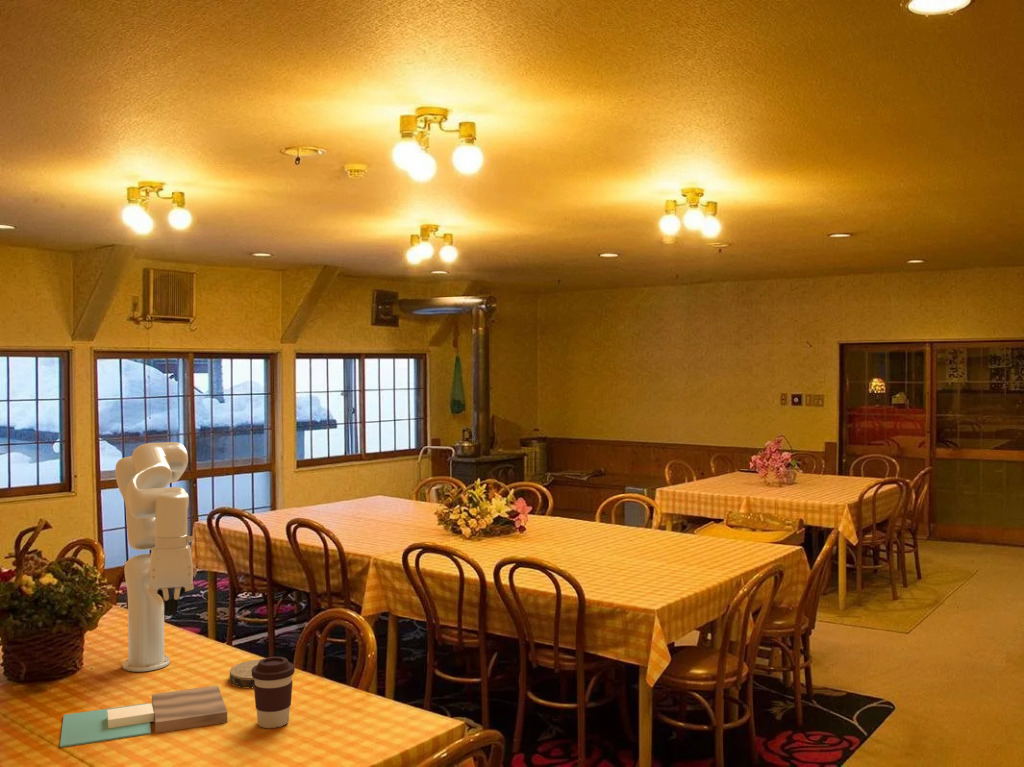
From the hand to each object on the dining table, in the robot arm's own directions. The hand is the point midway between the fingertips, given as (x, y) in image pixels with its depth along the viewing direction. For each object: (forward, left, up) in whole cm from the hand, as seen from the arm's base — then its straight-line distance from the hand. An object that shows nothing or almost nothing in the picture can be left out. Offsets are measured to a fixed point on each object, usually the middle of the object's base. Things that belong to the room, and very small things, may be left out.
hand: (171, 614), depth 229 cm
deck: (+7, +3, -23) cm, 24 cm away
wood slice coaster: (-12, +23, -24) cm, 35 cm away
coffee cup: (+22, +21, -23) cm, 39 cm away
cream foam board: (+7, -10, -23) cm, 26 cm away
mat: (+7, -15, -23) cm, 28 cm away
